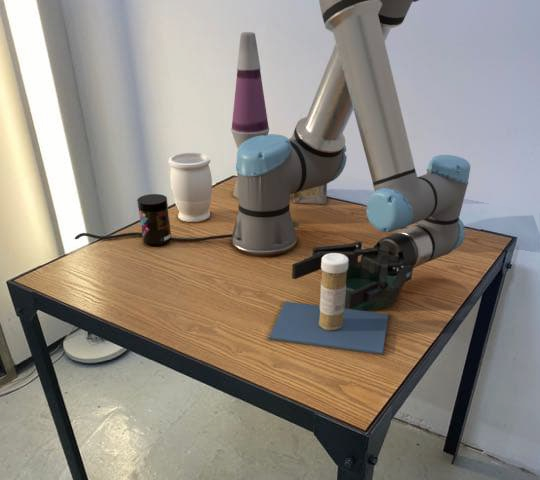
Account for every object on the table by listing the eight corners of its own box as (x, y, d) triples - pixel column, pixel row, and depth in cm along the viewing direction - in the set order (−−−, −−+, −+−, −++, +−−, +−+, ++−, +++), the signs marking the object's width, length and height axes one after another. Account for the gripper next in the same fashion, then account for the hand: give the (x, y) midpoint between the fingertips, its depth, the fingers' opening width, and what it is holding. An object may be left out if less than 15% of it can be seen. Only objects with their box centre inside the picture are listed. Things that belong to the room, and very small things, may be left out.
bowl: (322, 306, 110) (323, 288, 108) (332, 274, 121) (334, 257, 118) (392, 314, 107) (395, 296, 105) (397, 281, 118) (400, 264, 116)
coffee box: (327, 196, 159) (330, 137, 150) (325, 205, 154) (328, 144, 145) (294, 195, 161) (296, 136, 151) (291, 203, 155) (292, 142, 146)
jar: (211, 224, 143) (207, 164, 135) (171, 224, 144) (164, 164, 135) (216, 209, 152) (212, 151, 143) (177, 209, 152) (171, 151, 143)
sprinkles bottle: (336, 316, 106) (341, 250, 98) (347, 329, 102) (353, 261, 95) (314, 321, 105) (317, 254, 97) (324, 333, 101) (328, 265, 93)
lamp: (275, 198, 159) (275, 34, 135) (237, 202, 156) (231, 36, 133) (264, 186, 167) (263, 29, 144) (229, 189, 165) (221, 31, 141)
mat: (268, 339, 101) (268, 337, 100) (285, 303, 111) (285, 301, 111) (382, 354, 97) (382, 352, 96) (388, 316, 107) (388, 313, 107)
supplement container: (153, 234, 139) (147, 192, 133) (177, 238, 137) (172, 196, 130) (137, 245, 134) (131, 202, 127) (162, 249, 131) (157, 206, 125)
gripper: (453, 294, 102) (371, 335, 91) (352, 248, 117) (273, 279, 107) (461, 255, 97) (376, 294, 86) (355, 213, 113) (273, 241, 102)
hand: (319, 286), depth 97 cm, fingers open, 13 cm apart
